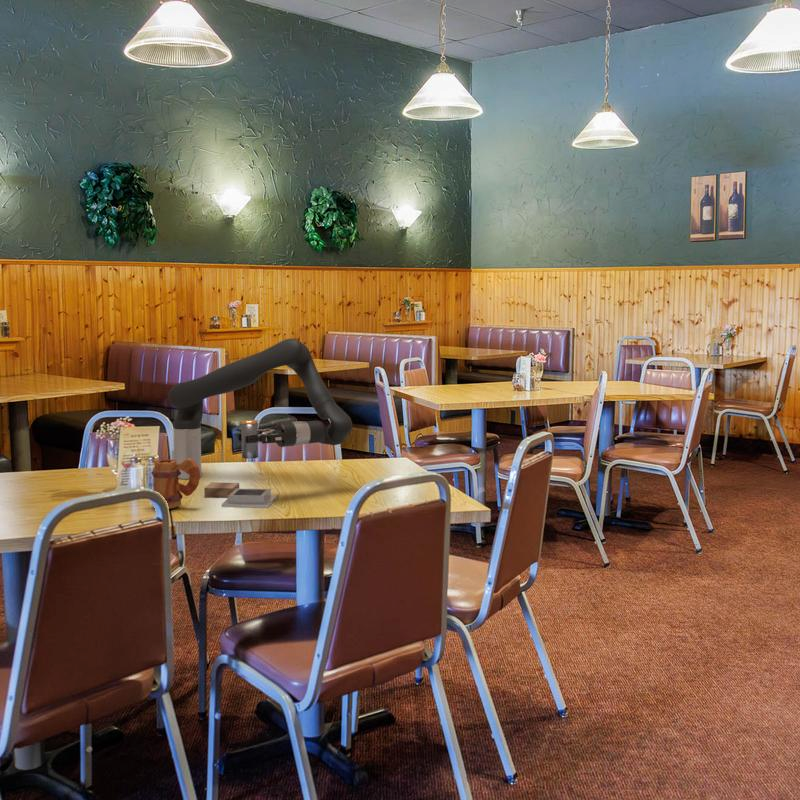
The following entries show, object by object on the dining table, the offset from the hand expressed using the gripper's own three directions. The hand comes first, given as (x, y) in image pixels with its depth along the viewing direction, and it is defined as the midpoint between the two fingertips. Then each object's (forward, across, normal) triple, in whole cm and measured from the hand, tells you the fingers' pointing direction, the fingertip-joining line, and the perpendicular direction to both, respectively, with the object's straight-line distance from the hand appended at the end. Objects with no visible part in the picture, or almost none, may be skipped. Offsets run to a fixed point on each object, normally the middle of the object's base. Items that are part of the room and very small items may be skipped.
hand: (241, 438), depth 271 cm
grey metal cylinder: (-3, 0, +6) cm, 7 cm away
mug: (+20, -3, +20) cm, 28 cm away
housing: (-2, 0, +20) cm, 20 cm away
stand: (+1, -14, +20) cm, 25 cm away
